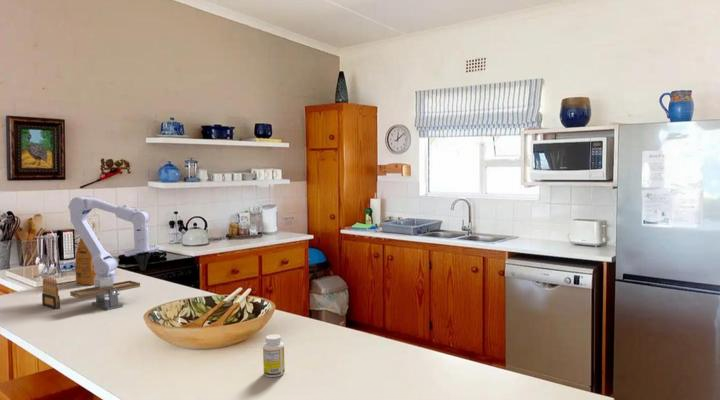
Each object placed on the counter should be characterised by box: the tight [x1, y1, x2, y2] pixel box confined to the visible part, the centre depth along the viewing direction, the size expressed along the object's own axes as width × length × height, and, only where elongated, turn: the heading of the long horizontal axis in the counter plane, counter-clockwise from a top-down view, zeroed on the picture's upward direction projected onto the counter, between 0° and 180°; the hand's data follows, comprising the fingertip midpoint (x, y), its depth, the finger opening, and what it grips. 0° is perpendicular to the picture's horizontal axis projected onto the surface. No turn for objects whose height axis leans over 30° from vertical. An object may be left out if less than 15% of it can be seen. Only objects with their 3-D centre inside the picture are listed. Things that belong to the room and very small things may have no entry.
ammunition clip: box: [41, 276, 61, 310], centre depth 208 cm, size 11×2×12 cm, turn 56°
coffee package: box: [74, 237, 100, 286], centre depth 248 cm, size 10×12×22 cm
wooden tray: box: [69, 280, 141, 300], centre depth 208 cm, size 9×24×2 cm, turn 142°
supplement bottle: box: [262, 333, 286, 378], centre depth 140 cm, size 6×6×10 cm
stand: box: [91, 289, 124, 311], centre depth 208 cm, size 13×6×8 cm, turn 52°
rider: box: [95, 277, 113, 290], centre depth 208 cm, size 4×5×4 cm
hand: (142, 270), depth 226 cm, fingers closed
